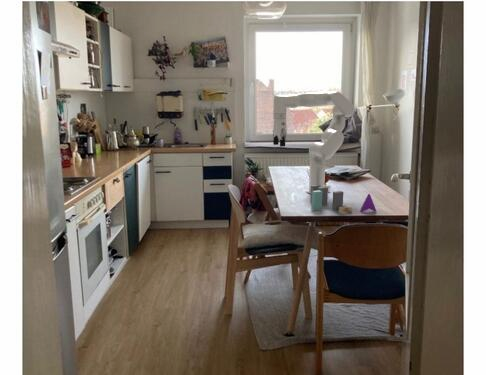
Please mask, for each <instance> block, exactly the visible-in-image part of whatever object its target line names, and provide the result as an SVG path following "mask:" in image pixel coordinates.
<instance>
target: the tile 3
mask: <svg viewBox="0 0 486 375" xmlns="http://www.w3.org/2000/svg"><path fill="white" fill-rule="evenodd" d="M331 203H332V205H331V210H332V211H334V212H337V211H338V210H339V207H343V206H344V191H342V190H336V191H332V202H331ZM338 212H339V211H338Z"/></svg>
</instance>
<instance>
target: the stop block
mask: <svg viewBox="0 0 486 375" xmlns="http://www.w3.org/2000/svg"><path fill="white" fill-rule="evenodd" d="M352 208H353V207H352V206H349V205H345V206H344V205H343V207H339V211H338V213H339V214H341V213H342V215H345V213H346V214H351V213H352V211H353V209H352Z"/></svg>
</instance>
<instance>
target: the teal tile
mask: <svg viewBox="0 0 486 375" xmlns="http://www.w3.org/2000/svg"><path fill="white" fill-rule="evenodd" d="M310 203H311V202H310ZM310 206H311V208H310V209H311V210H312V209H313V211H319V210H318V209H320V210H322V208H323V205H322V191H320V190H317V191H312V203H311V205H310Z"/></svg>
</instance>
